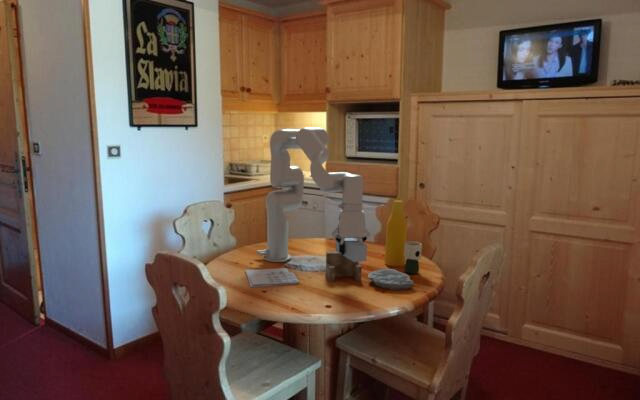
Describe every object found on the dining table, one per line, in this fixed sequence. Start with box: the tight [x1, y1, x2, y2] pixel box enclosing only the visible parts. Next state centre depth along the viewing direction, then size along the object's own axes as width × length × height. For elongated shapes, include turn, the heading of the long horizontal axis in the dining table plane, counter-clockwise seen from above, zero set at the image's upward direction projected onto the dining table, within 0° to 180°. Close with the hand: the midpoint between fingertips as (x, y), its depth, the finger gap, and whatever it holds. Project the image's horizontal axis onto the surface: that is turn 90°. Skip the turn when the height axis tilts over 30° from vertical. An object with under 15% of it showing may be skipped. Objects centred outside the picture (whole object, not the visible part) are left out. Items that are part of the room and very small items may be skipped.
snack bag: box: [244, 267, 300, 288], centre depth 191 cm, size 19×20×2 cm
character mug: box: [403, 241, 423, 275], centre depth 201 cm, size 11×7×13 cm, turn 145°
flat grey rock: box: [367, 268, 415, 291], centre depth 188 cm, size 20×17×3 cm
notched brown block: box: [325, 251, 363, 283], centre depth 192 cm, size 13×9×11 cm, turn 100°
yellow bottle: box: [384, 199, 408, 268], centre depth 212 cm, size 9×9×29 cm
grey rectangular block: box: [335, 233, 368, 263], centre depth 181 cm, size 5×16×7 cm, turn 23°
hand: (350, 253), depth 181 cm, fingers closed on grey rectangular block, 5 cm apart
